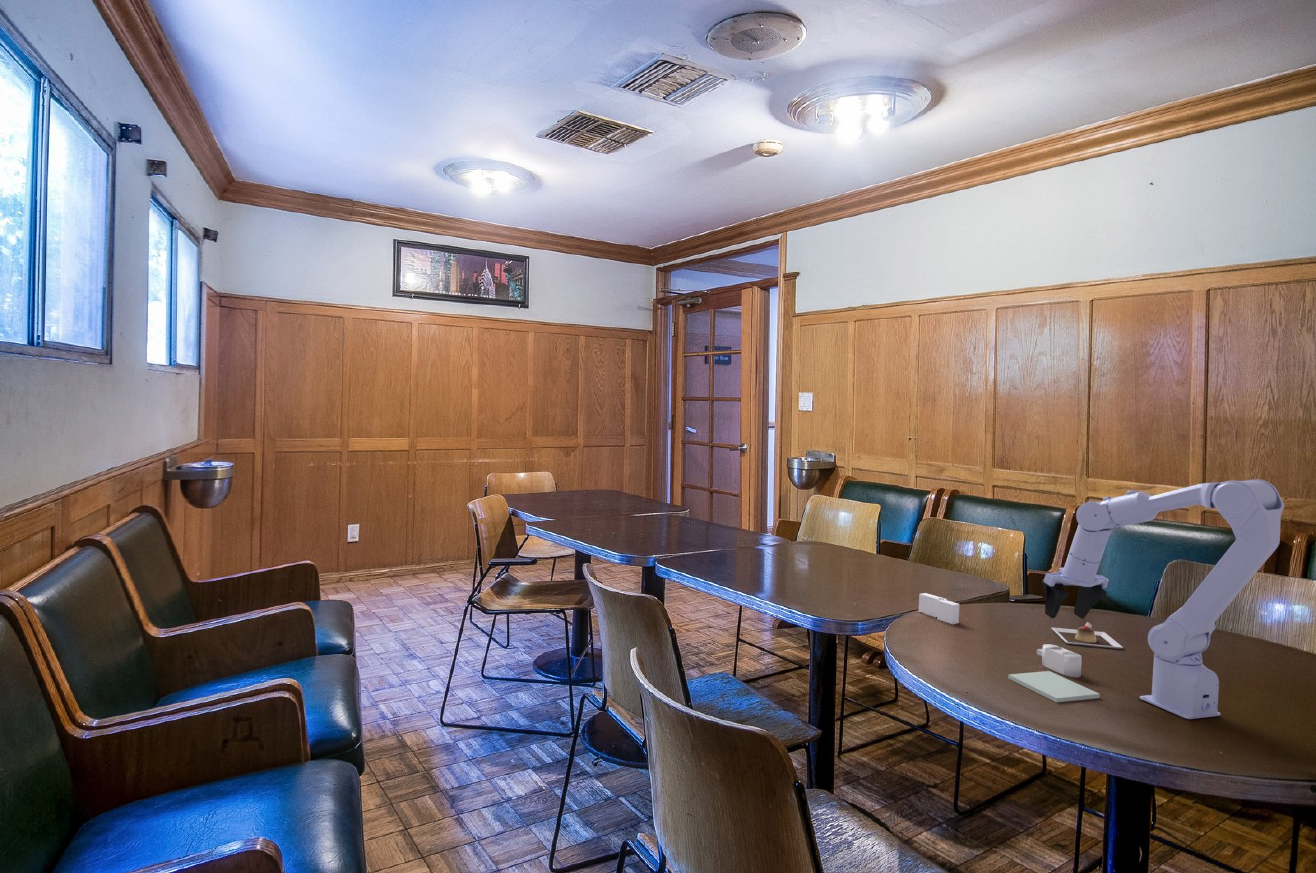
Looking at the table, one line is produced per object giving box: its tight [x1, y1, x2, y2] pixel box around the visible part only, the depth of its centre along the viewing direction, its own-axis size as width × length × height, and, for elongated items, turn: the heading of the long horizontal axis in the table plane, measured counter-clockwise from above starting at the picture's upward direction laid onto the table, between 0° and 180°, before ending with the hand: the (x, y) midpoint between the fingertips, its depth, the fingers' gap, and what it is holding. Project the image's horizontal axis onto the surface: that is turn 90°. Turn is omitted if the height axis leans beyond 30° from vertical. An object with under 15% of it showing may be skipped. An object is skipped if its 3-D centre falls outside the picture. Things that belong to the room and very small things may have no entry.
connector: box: [1036, 643, 1083, 678], centre depth 151 cm, size 10×4×4 cm, turn 16°
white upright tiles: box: [918, 592, 960, 625], centre depth 186 cm, size 15×11×6 cm
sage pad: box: [1007, 670, 1101, 703], centre depth 140 cm, size 12×10×1 cm
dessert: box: [1051, 621, 1124, 650], centre depth 172 cm, size 12×12×5 cm
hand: (1064, 615), depth 151 cm, fingers open, 7 cm apart
